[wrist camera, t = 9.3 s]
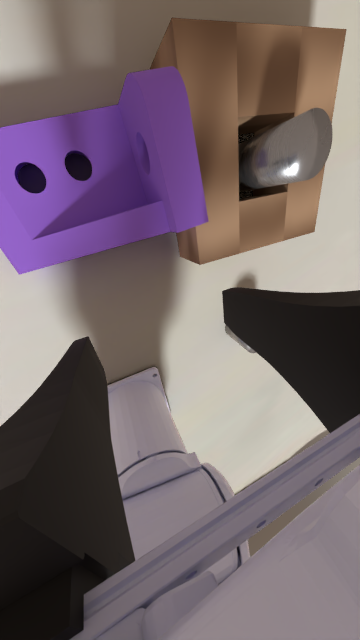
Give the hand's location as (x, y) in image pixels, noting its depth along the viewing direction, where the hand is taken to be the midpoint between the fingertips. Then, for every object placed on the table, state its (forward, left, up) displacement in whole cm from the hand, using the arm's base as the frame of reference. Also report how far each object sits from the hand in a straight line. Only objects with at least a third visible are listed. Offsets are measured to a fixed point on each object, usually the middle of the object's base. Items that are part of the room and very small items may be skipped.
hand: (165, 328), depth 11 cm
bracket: (+7, +2, -10) cm, 12 cm away
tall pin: (+7, -11, -9) cm, 16 cm away
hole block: (+7, -11, -9) cm, 16 cm away
